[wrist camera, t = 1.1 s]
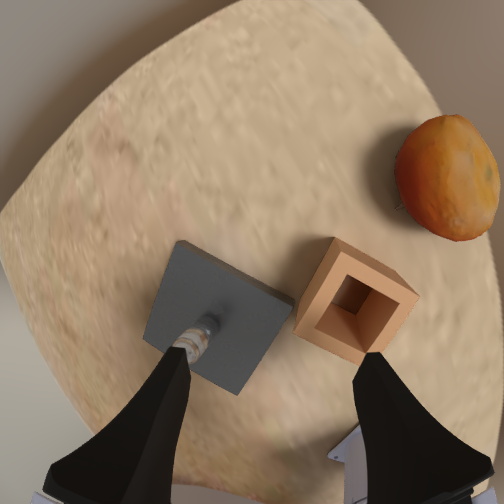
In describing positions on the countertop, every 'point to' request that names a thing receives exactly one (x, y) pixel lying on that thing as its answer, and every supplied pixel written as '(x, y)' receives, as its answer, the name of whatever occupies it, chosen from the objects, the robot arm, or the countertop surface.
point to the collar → (369, 315)
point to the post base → (215, 316)
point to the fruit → (448, 178)
